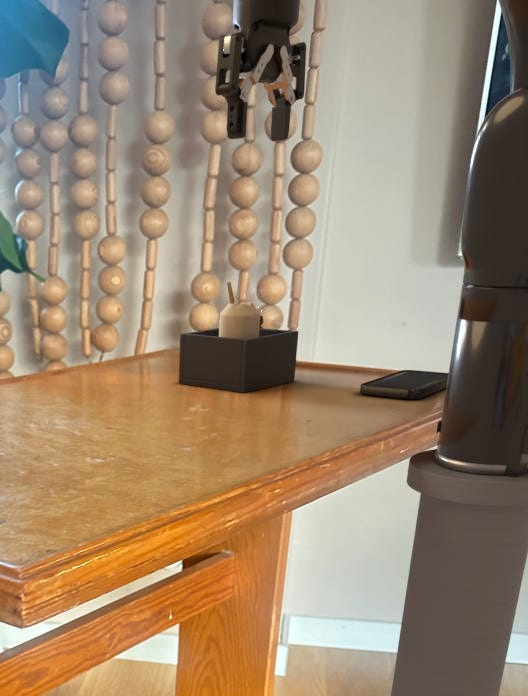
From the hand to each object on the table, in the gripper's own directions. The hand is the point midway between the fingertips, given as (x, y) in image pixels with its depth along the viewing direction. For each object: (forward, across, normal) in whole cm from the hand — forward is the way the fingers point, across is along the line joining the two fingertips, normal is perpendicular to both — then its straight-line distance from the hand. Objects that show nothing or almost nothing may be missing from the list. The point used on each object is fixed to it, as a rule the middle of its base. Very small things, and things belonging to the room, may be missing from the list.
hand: (258, 139), depth 112 cm
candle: (+30, +5, +5) cm, 30 cm away
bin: (+30, +5, +5) cm, 31 cm away
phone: (+30, +15, -16) cm, 37 cm away
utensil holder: (+30, +21, +16) cm, 40 cm away
